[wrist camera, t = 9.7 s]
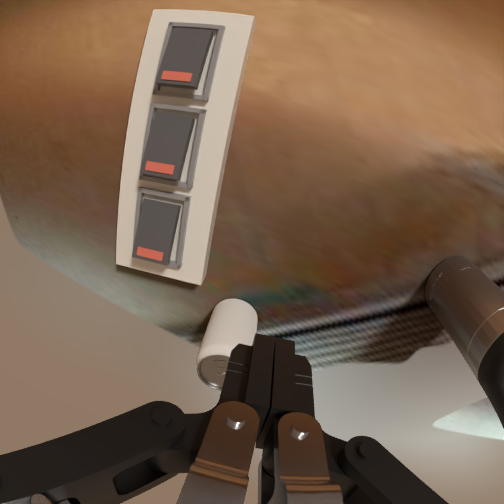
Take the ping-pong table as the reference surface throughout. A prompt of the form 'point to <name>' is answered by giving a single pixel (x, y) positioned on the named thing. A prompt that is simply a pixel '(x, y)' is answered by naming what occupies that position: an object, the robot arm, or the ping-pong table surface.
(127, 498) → the robot arm
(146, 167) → the rocker
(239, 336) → the can
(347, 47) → the ping-pong table surface
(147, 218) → the rocker
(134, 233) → the switch panel
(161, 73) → the rocker
